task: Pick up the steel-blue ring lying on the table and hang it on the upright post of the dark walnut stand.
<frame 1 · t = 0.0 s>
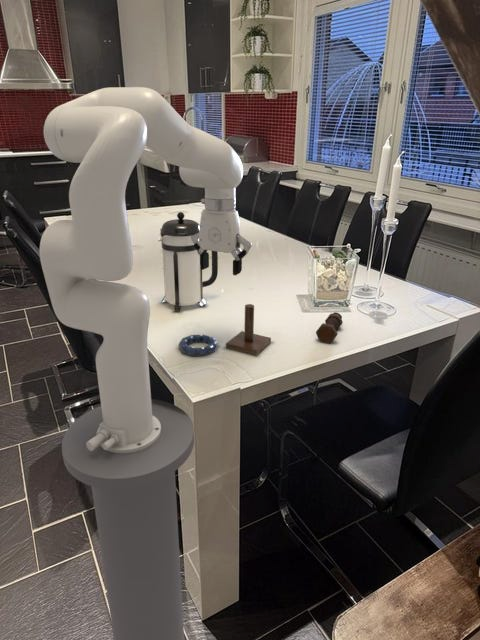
hand: (220, 271, 122), 19 cm above the table, tool pointing down, fingers open, 9 cm apart
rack: (248, 345, 126), on the table
ring: (198, 344, 123), point 1 cm above the table
coffee press: (187, 303, 154), on the table
bolt: (331, 333, 134), on the table
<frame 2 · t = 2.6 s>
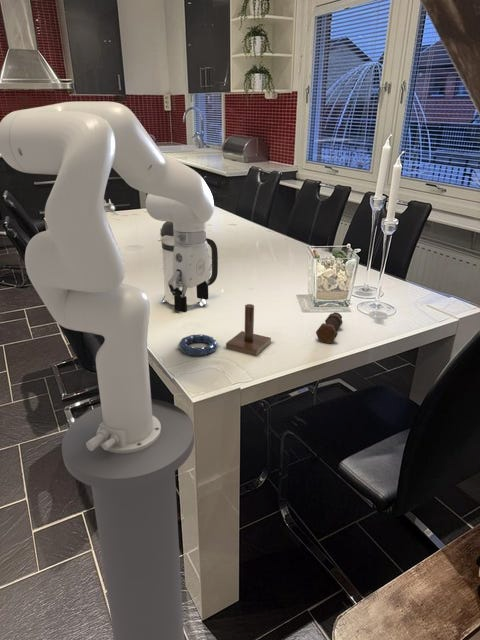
hand: (192, 304, 116), 13 cm above the table, tool pointing down, fingers open, 9 cm apart
nothing on the table moved.
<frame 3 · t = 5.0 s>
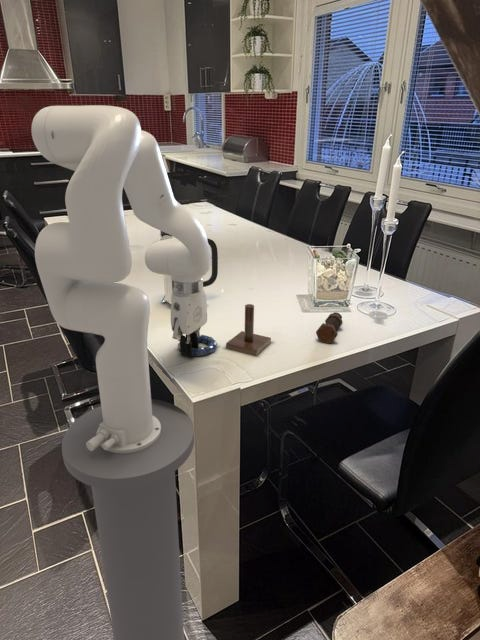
hand: (189, 352, 120), 0 cm above the table, tool pointing down, fingers closed on ring, 2 cm apart
ring: (197, 345, 123), point 1 cm above the table, touching gripper
everything else where it was.
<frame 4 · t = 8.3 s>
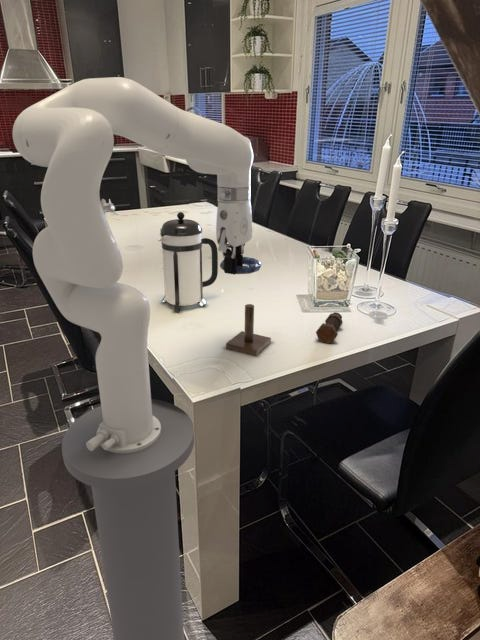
hand: (233, 271, 113), 22 cm above the table, tool pointing down, fingers closed on ring
ring: (240, 265, 116), point 23 cm above the table, touching gripper
everything else where it was.
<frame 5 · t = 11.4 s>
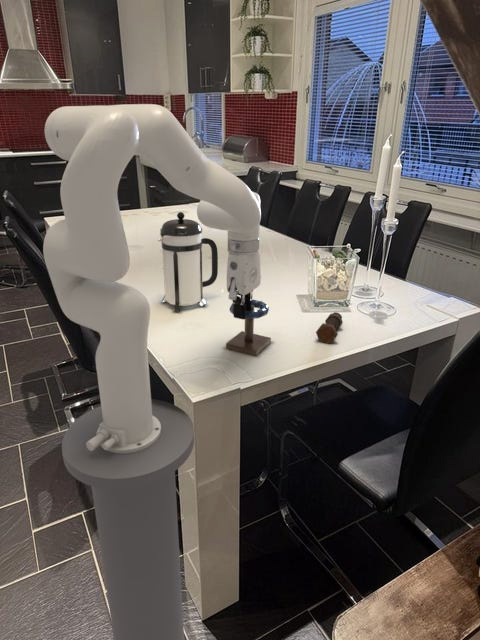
hand: (242, 315, 118), 10 cm above the table, tool pointing down, fingers closed on ring
ring: (249, 308, 121), point 11 cm above the table, touching gripper
everything else where it was.
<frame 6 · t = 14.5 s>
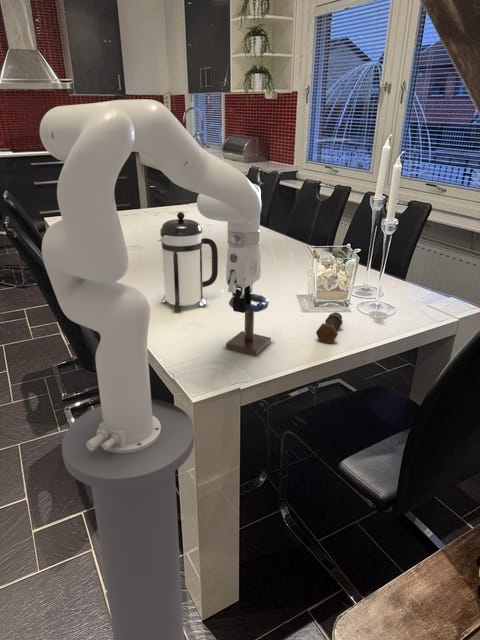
hand: (242, 309, 117), 12 cm above the table, tool pointing down, fingers closed on ring
ring: (248, 302, 120), point 12 cm above the table, touching gripper
everything else where it was.
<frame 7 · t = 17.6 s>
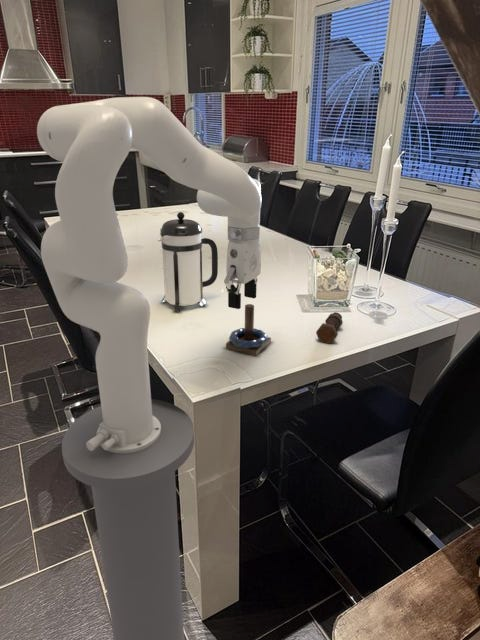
hand: (242, 302, 117), 14 cm above the table, tool pointing down, fingers open, 7 cm apart
ring: (248, 337, 124), point 2 cm above the table, touching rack
everything else where it was.
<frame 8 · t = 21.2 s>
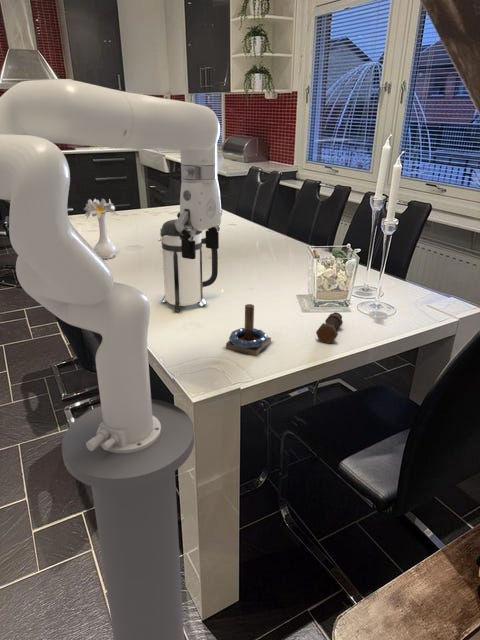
hand: (200, 253, 104), 28 cm above the table, tool pointing down, fingers open, 9 cm apart
nothing on the table moved.
at the end: ring 0.5 cm off-centre on the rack, point 2.5 cm above the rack's base; the gripper is holding nothing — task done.
